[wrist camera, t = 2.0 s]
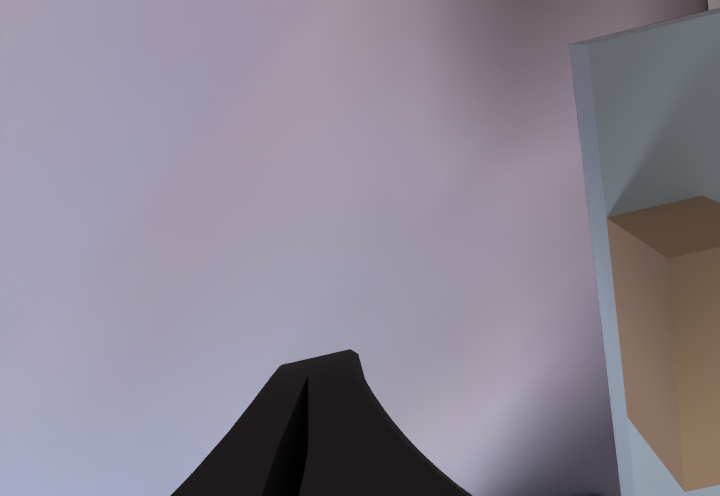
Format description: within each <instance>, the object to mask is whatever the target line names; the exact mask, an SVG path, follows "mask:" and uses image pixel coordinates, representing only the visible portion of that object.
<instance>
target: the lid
mask: <svg viewBox="0 0 720 496" xmlns="http://www.w3.org/2000/svg"><path fill="white" fill-rule="evenodd" d="M569 47H570V56H571V64H572V73H573V82H574V91H575V99H576V108H577V117H578V125H579V134H580V143H581V151H582V160H583V169H584V177H585V186H586V195H587V204H588V212H589V221H590V230H591V238H592V247H593V256H594V264H595V273H596V282H597V290H598V299H599V308H600V317H601V325H602V334H603V343H604V351H605V360H606V369H607V377H608V386H609V395H610V403H611V412H612V421H613V430H614V438H615V447H616V456H617V464H618V473H619V482H620V490H621V496H720V8H716V9H712V10H708V11H703V12H699V13H695V14H691V15H687V16H683V17H679V18H675V19H671V20H667V21H663V22H659V23H654V24H650V25H646V26H642V27H638V28H634V29H630V30H626V31H622V32H618V33H614V34H610V35H606V36H601V37H597V38H593V39H589V40H585V41H581V42H577V43H573V44H569Z"/></svg>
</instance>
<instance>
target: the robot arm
mask: <svg viewBox="0 0 720 496" xmlns="http://www.w3.org/2000/svg"><path fill="white" fill-rule="evenodd" d="M171 496H472V495H471V494H470V493H468V492H467V491H465V490H464V489H463V488H461V487H460V486H459V485H457V484H456V483H455V482H453V481H452V480H451V479H450V478H449V477H448V476H446V475H445V474H444V473H443V472H442V471H441V470H439V469H438V468H437V467H436V466H435V465H434V464H433V463H432V462H431V461H430V460H429V459H427V458H426V457H425V456H424V455H423V454H422V453H421V452H420V451H419V450H418V449H417V448H416V447H415V446H414V445H413V444H412V443H411V441H410V440H409V439H408V438H407V437H406V436H405V435H404V434H403V432H402V431H401V430H400V429H399V428H398V427H397V425H396V424H395V423H394V422H393V421H392V419H391V418H390V417H389V415H388V414H387V413H386V411H385V410H384V409H383V407H382V406H381V404H380V403H379V401H378V400H377V398H376V397H375V395H374V394H373V392H372V391H371V389H370V387H369V386H368V384H367V382H366V380H365V378H364V374H363V370H362V367H361V363H360V359H359V355H358V354H357V353H356V352H354V351H352V350H351V349H349V350H345V351H341V352H336V353H332V354H328V355H323V356H319V357H314V358H310V359H306V360H301V361H297V362H293V363H288V364H284V365H281V366H280V367H279V368H278V369H277V370H276V371H275V373H274V374H273V375H272V376H271V378H270V379H269V380H268V382H267V383H266V384H265V386H264V387H263V388H262V390H261V391H260V392H259V394H258V395H257V396H256V398H255V399H254V400H253V401H252V403H251V404H250V405H249V407H248V408H247V409H246V410H245V412H244V413H243V414H242V415H241V417H240V418H239V419H238V421H237V422H236V423H235V424H234V426H233V427H232V428H231V429H230V431H229V432H228V433H227V434H226V435H225V437H224V438H223V439H222V440H221V441H220V442H219V443H218V445H217V446H216V447H215V448H214V449H213V450H212V451H211V452H210V454H209V455H208V456H207V457H206V458H205V459H204V460H203V462H202V463H201V464H200V465H199V466H198V467H197V468H196V470H195V471H194V472H193V473H192V474H191V475H190V476H189V477H188V478H187V479H186V480H185V481H184V482H183V483H182V485H181V486H180V487H179V488H178V489H177V490H176V491H175V492H174V493H173V494H172V495H171Z"/></svg>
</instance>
